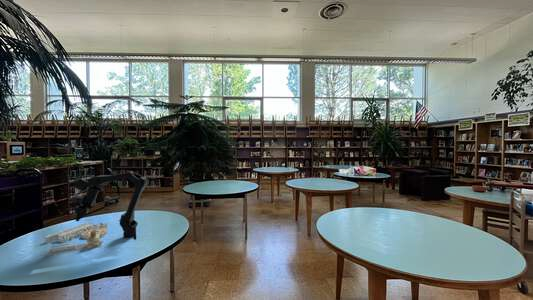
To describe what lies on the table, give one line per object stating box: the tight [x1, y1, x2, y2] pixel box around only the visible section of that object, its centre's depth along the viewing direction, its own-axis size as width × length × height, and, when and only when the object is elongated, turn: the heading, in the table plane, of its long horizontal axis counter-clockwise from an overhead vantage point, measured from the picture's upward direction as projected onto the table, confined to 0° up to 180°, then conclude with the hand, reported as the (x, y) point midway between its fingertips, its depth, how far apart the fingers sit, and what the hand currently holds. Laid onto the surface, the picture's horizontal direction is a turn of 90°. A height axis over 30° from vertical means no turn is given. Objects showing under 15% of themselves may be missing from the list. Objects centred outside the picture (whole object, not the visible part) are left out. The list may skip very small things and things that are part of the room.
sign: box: [44, 221, 108, 244], centre depth 157 cm, size 30×4×30 cm
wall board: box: [44, 240, 104, 257], centre depth 134 cm, size 24×10×4 cm, turn 117°
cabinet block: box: [86, 230, 101, 248], centre depth 138 cm, size 5×6×8 cm
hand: (79, 218), depth 148 cm, fingers open, 9 cm apart
